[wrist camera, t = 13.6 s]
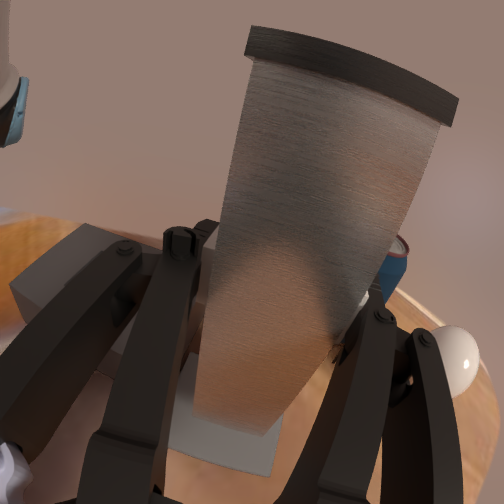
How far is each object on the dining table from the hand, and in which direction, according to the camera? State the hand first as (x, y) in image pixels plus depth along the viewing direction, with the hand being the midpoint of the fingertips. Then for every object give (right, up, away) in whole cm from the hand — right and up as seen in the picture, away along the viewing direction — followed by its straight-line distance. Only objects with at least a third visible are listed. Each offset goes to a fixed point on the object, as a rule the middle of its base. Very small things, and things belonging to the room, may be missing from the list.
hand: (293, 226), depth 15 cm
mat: (-4, -14, +4) cm, 15 cm away
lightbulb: (+12, -17, +6) cm, 21 cm away
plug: (-3, -11, +1) cm, 12 cm away
